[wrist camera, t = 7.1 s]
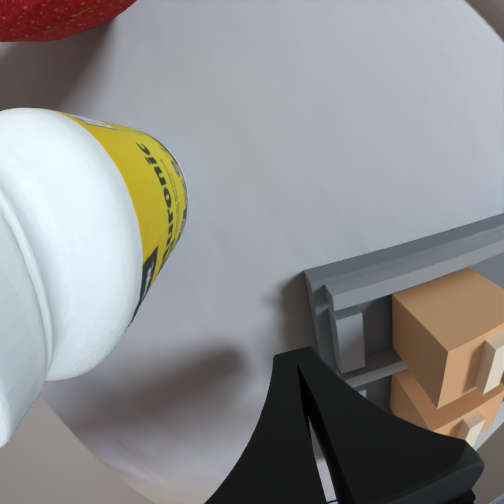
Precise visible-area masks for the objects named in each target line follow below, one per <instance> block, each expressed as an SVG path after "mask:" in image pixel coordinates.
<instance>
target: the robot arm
mask: <svg viewBox="0 0 504 504" xmlns="http://www.w3.org/2000/svg"><path fill="white" fill-rule="evenodd" d="M308 416H309V419H310V422H311V424H312V427H313V429H314V432H315V435H316V437H317V440H318V442H319V445H320V447H321V450H322V452H323V455H324V458H325V460H326V463H327V466H328V469H329V472H330V476H331V480H332V483H333V487H334V491H335V495H336V499H337V501H336V502H333V503H329V504H474V503H473V501H474V500H475V499H476V498H475V495H474V493H473V491H472V490H471V488H472V487H473V486H474V484H475V483H476V481H477V480H478V478H479V477H480V475H481V474H482V472H483V469H484V463H483V461H482V459H481V458H480V456H479V455H478V453H477V452H476V451H475V450H474V449H473V448H472V447H471V446H470V445H469V443H468V442H467V441H466V440H464V439H460V438H455V437H451V436H447V435H443V434H440V433H436V432H433V431H431V430H428V429H425V428H422V427H419V426H417V425H415V424H413V423H410V422H408V421H406V420H404V419H402V418H399V417H397V416H395V415H393V414H392V413H390V412H388V411H386V410H384V409H383V408H381V407H379V406H378V405H376V404H375V403H373V402H371V401H370V400H368V399H367V398H366V397H364V396H363V395H361V394H360V393H359V392H357V391H356V390H355V389H354V388H352V387H351V386H350V385H349V384H347V383H346V382H345V381H344V380H343V379H342V378H341V377H340V376H338V375H337V374H336V373H335V372H334V371H333V370H332V369H331V368H330V367H329V366H328V365H327V364H326V363H325V362H324V360H323V359H322V358H321V357H320V356H319V355H318V353H317V352H316V351H315V349H314V348H313V347H311V346H308V347H304V348H301V349H297V350H293V351H289V352H285V353H281V354H277V355H275V356H274V357H273V369H272V376H271V381H270V386H269V390H268V394H267V397H266V401H265V404H264V407H263V410H262V413H261V415H260V418H259V421H258V423H257V426H256V428H255V430H254V432H253V434H252V436H251V439H250V441H249V443H248V444H247V446H246V448H245V450H244V452H243V453H242V455H241V457H240V458H239V460H238V462H237V463H236V465H235V466H234V468H233V469H232V470H231V472H230V473H229V475H228V476H227V477H226V479H225V480H224V481H223V483H222V484H221V485H220V487H219V488H218V489H217V490H216V491H215V493H214V494H213V495H212V496H211V497H210V498H209V499H208V500H207V501H206V502H205V503H204V504H327V502H326V498H325V494H324V491H323V487H322V483H321V479H320V476H319V472H318V468H317V464H316V461H315V457H314V453H313V448H312V441H311V434H310V427H309V420H308ZM489 504H504V494H502V495H501V496H499V497H498V498H496V499H495V500H493V501H492V502H491V503H489Z"/></svg>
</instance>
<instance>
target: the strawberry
mask: <svg viewBox="0 0 504 504" xmlns="http://www.w3.org/2000/svg"><path fill="white" fill-rule="evenodd" d="M135 1H137V0H0V42H15V41H38V42H44V41H51V40H58V39H62V38H65V37H69V36H73V35H76V34H79V33H81V32H84V31H86V30H89V29H91V28H94V27H96V26H98V25H100V24H102V23H104V22H106V21H108V20H110V19H112V18H114V17H116V16H117V15H119V14H120V13H122V12H123V11H125V10H126V9H127V8H128V7H130V6H131V5H132V4H133V3H134V2H135Z"/></svg>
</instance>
